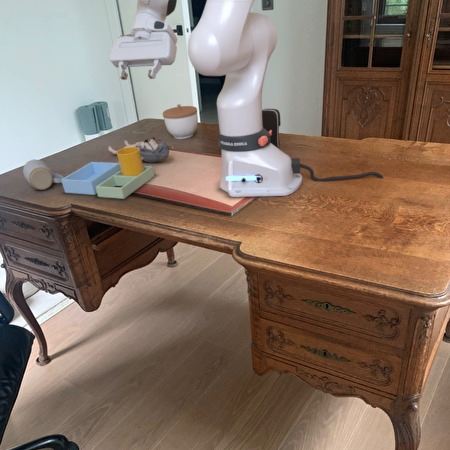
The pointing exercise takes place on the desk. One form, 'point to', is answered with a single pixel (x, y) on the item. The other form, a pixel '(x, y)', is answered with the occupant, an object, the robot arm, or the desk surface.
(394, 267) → the desk surface
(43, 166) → the ceramic mug
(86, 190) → the open storage box
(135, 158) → the tumbler
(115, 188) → the divided storage tray
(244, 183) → the robot arm
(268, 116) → the battery charger
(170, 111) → the lidded bowl
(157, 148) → the anime figure
